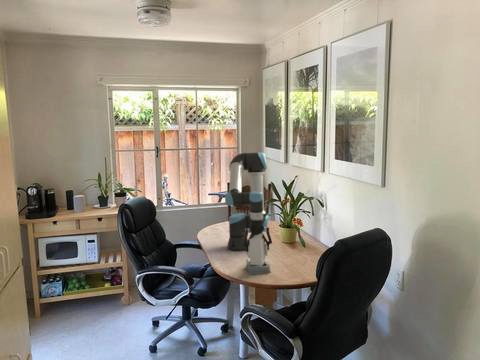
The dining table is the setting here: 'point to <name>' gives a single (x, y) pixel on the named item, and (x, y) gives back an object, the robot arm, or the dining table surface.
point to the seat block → (257, 268)
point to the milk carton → (257, 250)
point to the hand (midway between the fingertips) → (257, 256)
